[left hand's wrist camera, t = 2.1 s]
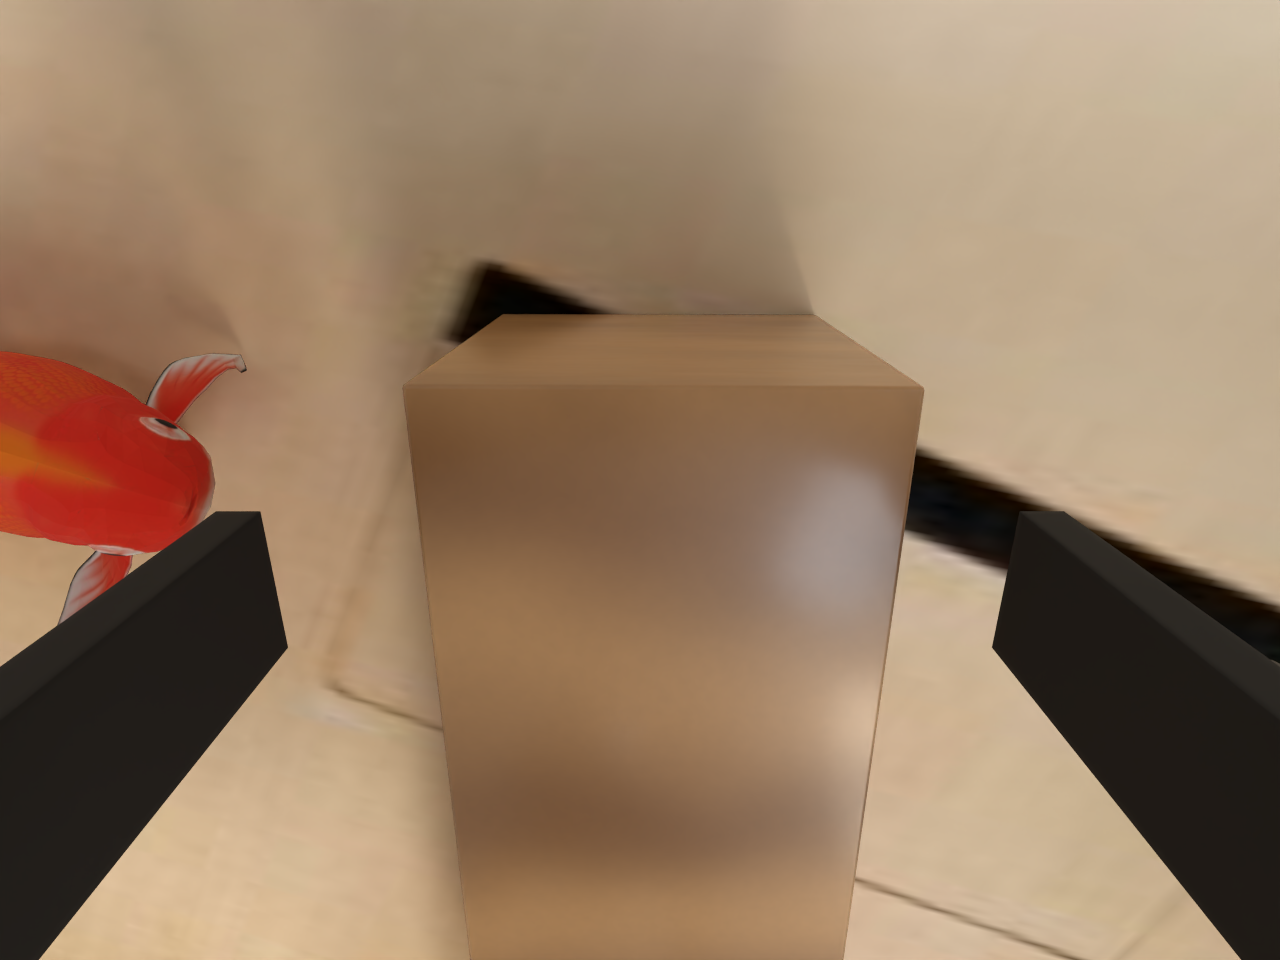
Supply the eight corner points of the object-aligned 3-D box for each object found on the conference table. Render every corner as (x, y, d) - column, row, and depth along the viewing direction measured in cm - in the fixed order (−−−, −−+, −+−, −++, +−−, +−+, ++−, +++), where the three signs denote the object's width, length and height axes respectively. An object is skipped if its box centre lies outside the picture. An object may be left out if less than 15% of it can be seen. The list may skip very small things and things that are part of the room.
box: (501, 313, 20) (400, 384, 12) (816, 314, 20) (926, 386, 12) (547, 1000, 30) (508, 1290, 22) (757, 1004, 30) (796, 1297, 22)
